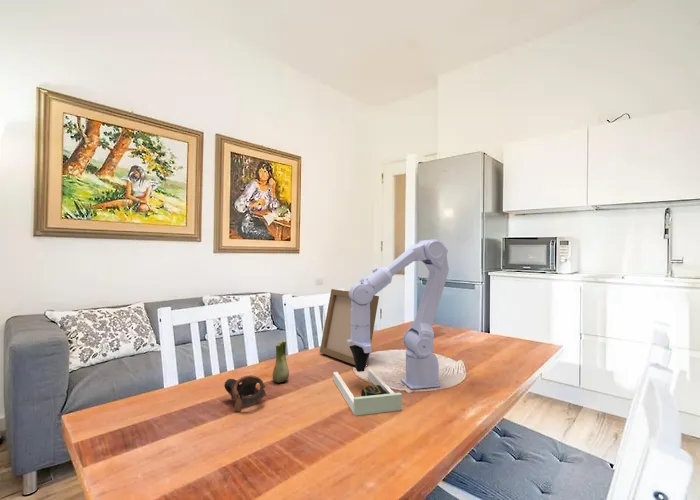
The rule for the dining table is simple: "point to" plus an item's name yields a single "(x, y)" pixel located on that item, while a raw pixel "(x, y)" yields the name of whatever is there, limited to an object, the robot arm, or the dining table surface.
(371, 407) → the bay
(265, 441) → the dining table surface
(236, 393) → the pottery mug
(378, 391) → the tape measure
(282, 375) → the fennel bulb
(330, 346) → the photo frame
